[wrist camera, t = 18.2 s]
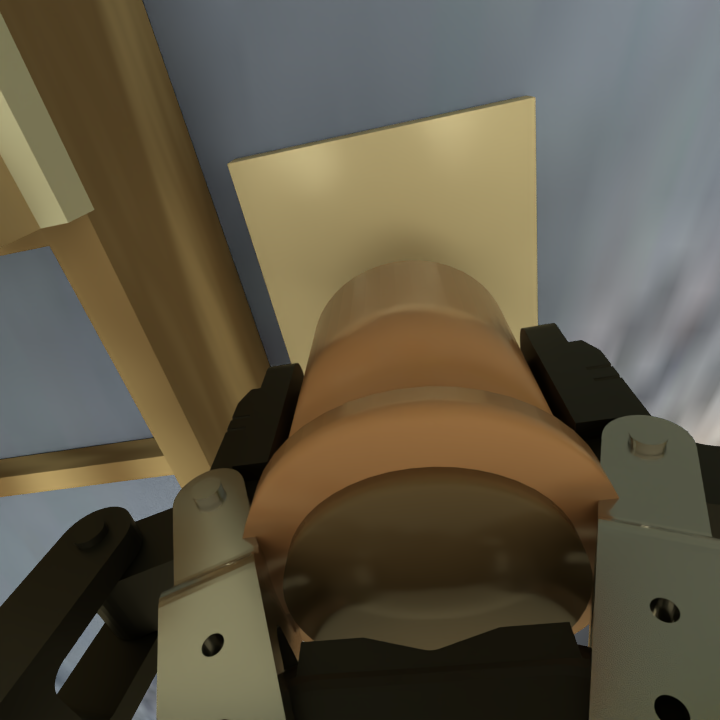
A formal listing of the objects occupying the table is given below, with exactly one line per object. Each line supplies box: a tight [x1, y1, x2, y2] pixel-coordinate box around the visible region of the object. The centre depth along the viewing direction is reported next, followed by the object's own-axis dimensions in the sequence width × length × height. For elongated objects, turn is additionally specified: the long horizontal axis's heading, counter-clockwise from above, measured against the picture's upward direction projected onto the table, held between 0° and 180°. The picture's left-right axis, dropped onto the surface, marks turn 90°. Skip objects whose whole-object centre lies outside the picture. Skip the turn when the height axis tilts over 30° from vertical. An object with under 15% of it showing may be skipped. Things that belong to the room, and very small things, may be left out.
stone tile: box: [227, 96, 538, 374], centre depth 18 cm, size 10×10×1 cm
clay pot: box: [243, 260, 619, 650], centre depth 10 cm, size 6×6×7 cm
